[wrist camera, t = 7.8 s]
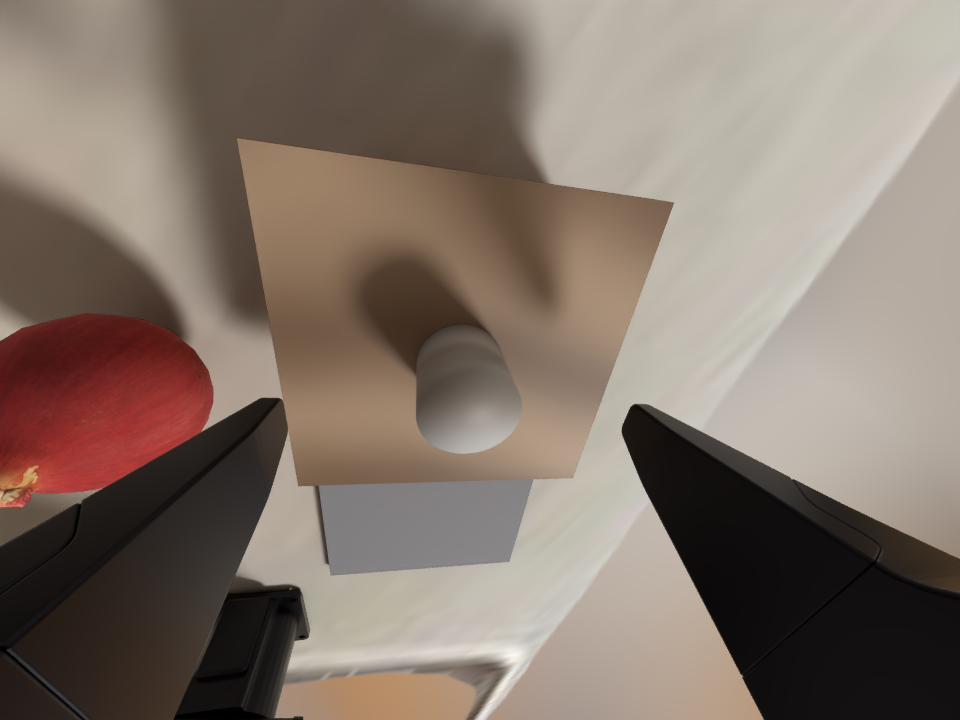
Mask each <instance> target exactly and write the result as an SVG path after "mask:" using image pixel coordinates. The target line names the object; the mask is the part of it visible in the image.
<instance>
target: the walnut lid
mask: <svg viewBox="0 0 960 720" xmlns="http://www.w3.org/2000/svg"><path fill="white" fill-rule="evenodd" d="M237 142H238V148H239V153H240V159H241V165H242V170H243V176H244V182H245V187H246V193H247V199H248V204H249V210H250V216H251V221H252V227H253V232H254V238H255V244H256V249H257V255H258V261H259V266H260V272H261V278H262V283H263V289H264V294H265V300H266V306H267V311H268V317H269V323H270V328H271V334H272V340H273V345H274V351H275V357H276V362H277V368H278V373H279V379H280V385H281V390H282V396H283V402H284V407H285V413H286V419H287V424H288V430H289V435H290V441H291V447H292V452H293V458H294V464H295V469H296V475H297V481H298V486H322V485H355V484H389V483H423V482H456V481H490V480H524V479H558V478H573V476H574V473H575V471H576V468H577V465H578V462H579V460H580V457H581V454H582V451H583V449H584V446H585V443H586V441H587V438H588V435H589V432H590V430H591V427H592V424H593V422H594V419H595V416H596V413H597V411H598V408H599V405H600V403H601V400H602V397H603V394H604V392H605V389H606V386H607V384H608V381H609V378H610V375H611V373H612V370H613V367H614V365H615V362H616V359H617V356H618V354H619V351H620V348H621V346H622V343H623V340H624V337H625V335H626V332H627V329H628V327H629V324H630V321H631V318H632V316H633V313H634V310H635V308H636V305H637V302H638V299H639V297H640V294H641V291H642V289H643V286H644V283H645V280H646V278H647V275H648V272H649V270H650V267H651V264H652V261H653V259H654V256H655V253H656V250H657V248H658V245H659V242H660V240H661V237H662V234H663V231H664V229H665V226H666V223H667V221H668V218H669V215H670V212H671V210H672V207H673V204H674V203H673V202H667V201H660V200H654V199H648V198H641V197H635V196H628V195H621V194H614V193H607V192H601V191H594V190H587V189H580V188H574V187H567V186H560V185H553V184H547V183H540V182H533V181H526V180H519V179H513V178H506V177H499V176H492V175H486V174H479V173H472V172H465V171H459V170H452V169H445V168H438V167H432V166H425V165H418V164H411V163H404V162H398V161H391V160H384V159H377V158H371V157H364V156H357V155H350V154H344V153H337V152H330V151H323V150H316V149H310V148H303V147H296V146H289V145H283V144H276V143H269V142H262V141H255V140H247V139H239V138H237Z"/></svg>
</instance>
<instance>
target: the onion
mask: <svg viewBox="0 0 960 720" xmlns="http://www.w3.org/2000/svg"><path fill="white" fill-rule="evenodd" d="M212 405H213V386H212V382H211V379H210V375H209V371H208V369H207V368H206V366H205V365H204V363H203V362H202V360H201V359H200V357H199V356H198V355H197V353H196V352H195V350H194V349H193V348H191V347H190V346H189V345H188V344H186V343H185V342H184V341H183V340H182V339H180V338H179V337H178V336H177V335H175V334H174V333H173V332H171V331H169V330H167V329H164V328H162V327H160V326H157V325H155V324H153V323H150V322H148V321H146V320H143V319H138V318H130V317H123V316H116V315H104V314H81V315H76V316H71V317H66V318H61V319H56V320H52V321H48V322H44V323H40V324H36V325H32V326H29V327H25V328H22V329H20V330H18V331H16V332H15V333H13V334H11V335H10V336H8V337H6V338H5V339H3V340H1V341H0V507H14V506H18V507H23V506H24V505H25V504H26V503H27V502H28V501H29V500H30V499H31V494H32V493H34V492H36V493H45V494H53V493H69V492H83V491H90V490H96V489H100V488H103V487H106V486H108V485H110V484H112V483H113V482H115V481H117V480H119V479H120V478H122V477H124V476H126V475H127V474H129V473H131V472H133V471H134V470H136V469H138V468H140V467H141V466H143V465H145V464H147V463H148V462H150V461H152V460H154V459H155V458H157V457H159V456H161V455H162V454H164V453H166V452H168V451H169V450H171V449H173V448H174V447H176V446H178V445H180V444H181V443H183V442H185V441H187V440H188V439H190V438H192V437H194V436H195V435H197V434H199V433H201V431H202V429H203V427H204V426H205V424H206V422H207V421H208V418H209V414H210V411H211V408H212Z"/></svg>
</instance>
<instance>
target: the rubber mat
mask: <svg viewBox="0 0 960 720" xmlns="http://www.w3.org/2000/svg"><path fill="white" fill-rule="evenodd" d="M532 482H533V479H524V480H490V481H456V482H423V483H389V484H355V485H322V486H319V492H320V500H321V507H322V515H323V522H324V530H325V537H326V544H327V552H328V559H329V567H330V574H331V575H343V574H356V573H370V572H383V571H396V570H409V569H422V568H435V567H448V566H461V565H474V564H487V563H500V562H509V561H510V557H511V554H512V551H513V547H514V544H515V540H516V537H517V533H518V530H519V527H520V523H521V520H522V516H523V513H524V510H525V506H526V503H527V499H528V496H529V493H530V489H531V486H532Z"/></svg>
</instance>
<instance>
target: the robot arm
mask: <svg viewBox="0 0 960 720" xmlns="http://www.w3.org/2000/svg"><path fill="white" fill-rule="evenodd" d="M287 433H288V425H287V419H286V413H285V408H284V403H283V401H282V400H281V399H280V398H260V399H258V400H257V401H255V402H253V403H251V404H250V405H248V406H246V407H244V408H243V409H241V410H239V411H237V412H236V413H234V414H232V415H230V416H229V417H227V418H225V419H223V420H222V421H220V422H218V423H216V424H215V425H213V426H211V427H209V428H208V429H206V430H204V431H202V432H201V433H199V434H197V435H195V436H194V437H192V438H190V439H188V440H187V441H185V442H183V443H181V444H180V445H178V446H176V447H174V448H173V449H171V450H169V451H168V452H166V453H164V454H162V455H161V456H159V457H157V458H155V459H154V460H152V461H150V462H148V463H147V464H145V465H143V466H141V467H140V468H138V469H136V470H134V471H133V472H131V473H129V474H127V475H126V476H124V477H122V478H120V479H119V480H117V481H115V482H113V483H112V484H110V485H108V486H106V487H105V488H103V489H101V490H99V491H98V492H96V493H94V494H92V495H91V496H89V497H87V498H85V499H84V500H82V502H81V504H75V505H73V506H71V507H70V508H68V509H66V510H64V511H63V512H61V513H59V514H57V515H56V516H54V517H52V518H50V519H49V520H47V521H45V522H43V523H41V524H40V525H38V526H36V527H34V528H32V529H31V530H29V531H27V532H25V533H23V534H22V535H20V536H18V537H16V538H14V539H13V540H11V541H9V542H7V543H5V544H4V545H2V546H0V720H303V717H301V716H298V717H297V716H296V717H294V718H275V714H276V710H277V706H278V702H279V698H280V695H281V691H282V687H283V683H284V680H285V676H286V672H287V668H288V664H289V660H290V657H291V653H292V649H293V645H294V641H297V640H304V639H307V638H308V637H309V633H310V628H309V623H308V618H307V614H306V609H305V604H304V600H303V595H302V592H300V591H295V590H294V591H282V592H270V593H258V594H246V595H234V596H226V595H227V593H228V591H229V588H230V586H231V584H232V582H233V579H234V577H235V575H236V572H237V570H238V568H239V565H240V563H241V561H242V558H243V556H244V554H245V551H246V549H247V547H248V544H249V542H250V540H251V537H252V535H253V533H254V530H255V528H256V526H257V523H258V521H259V519H260V516H261V514H262V512H263V509H264V507H265V505H266V502H267V500H268V497H269V494H270V491H271V488H272V485H273V482H274V478H275V475H276V471H277V468H278V465H279V461H280V458H281V454H282V451H283V448H284V444H285V441H286V437H287ZM622 435H623V438H624V441H625V443H626V446H627V448H628V451H629V453H630V456H631V458H632V461H633V463H634V466H635V468H636V470H637V473H638V475H639V478H640V480H641V482H642V485H643V487H644V489H645V491H646V493H647V495H648V497H649V499H650V500H651V502H652V504H653V506H654V508H655V510H656V512H657V514H658V516H659V518H660V520H661V522H662V524H663V526H664V527H665V529H666V531H667V533H668V535H669V537H670V539H671V541H672V543H673V545H674V547H675V549H676V550H677V552H678V554H679V556H680V558H681V560H682V562H683V564H684V566H685V568H686V570H687V572H688V574H689V576H690V578H691V580H692V581H693V583H694V585H695V587H696V589H697V591H698V593H699V595H700V597H701V599H702V601H703V603H704V605H705V606H706V608H707V610H708V612H709V614H710V616H711V618H712V620H713V622H714V624H715V626H716V628H717V630H718V632H719V633H720V635H721V637H722V639H723V641H724V643H725V645H726V647H727V649H728V651H729V653H730V654H731V657H732V658H733V660H734V662H735V664H736V666H737V668H738V670H739V672H740V674H741V675H742V676H743V677H742V678H743V680H744V682H745V684H746V686H747V688H748V690H749V692H750V694H751V696H752V698H753V700H754V702H755V704H756V705H757V707H758V709H759V711H760V713H761V715H762V717H763V719H764V720H960V559H959V558H957V557H954V556H952V555H950V554H948V553H946V552H943V551H941V550H939V549H937V548H935V547H933V546H931V545H928V544H926V543H924V542H922V541H920V540H918V539H916V538H914V537H911V536H909V535H907V534H905V533H903V532H901V531H899V530H897V529H894V528H892V527H890V526H888V525H886V524H884V523H882V522H879V521H877V520H875V519H873V518H871V517H869V516H867V515H865V514H863V513H861V512H859V511H856V510H854V509H852V508H850V507H848V506H846V505H844V504H842V503H840V502H838V501H836V500H834V499H832V498H830V497H828V496H826V495H824V494H822V493H820V492H818V491H816V490H814V489H812V488H810V487H808V486H806V485H804V484H802V483H800V482H798V481H796V480H794V479H793V480H792V479H791V478H790V477H788V476H786V475H784V474H783V473H781V472H779V471H777V470H775V469H772V468H771V467H769V466H767V465H765V464H763V463H761V462H759V461H757V460H755V459H753V458H751V457H749V456H747V455H745V454H744V453H742V452H739V451H738V450H735V449H734V448H732V447H730V446H728V445H726V444H724V443H722V442H720V441H718V440H716V439H714V438H712V437H710V436H708V435H707V434H705V433H703V432H701V431H699V430H697V429H695V428H693V427H691V426H689V425H687V424H685V423H683V422H681V421H679V420H677V419H675V418H673V417H671V416H669V415H668V414H666V413H664V412H662V411H660V410H658V409H656V408H654V407H652V406H650V405H647V404H634V405H632V406H631V407H630V409H629V412H628V414H627V416H626V419H625V421H624V423H623V426H622Z"/></svg>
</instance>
